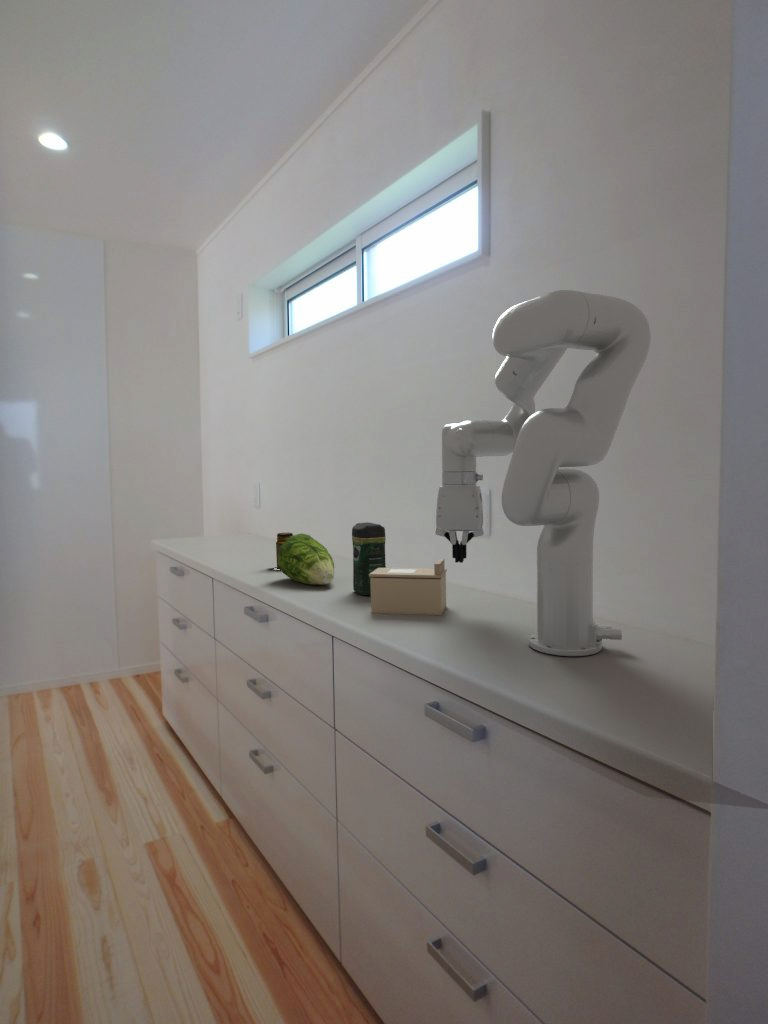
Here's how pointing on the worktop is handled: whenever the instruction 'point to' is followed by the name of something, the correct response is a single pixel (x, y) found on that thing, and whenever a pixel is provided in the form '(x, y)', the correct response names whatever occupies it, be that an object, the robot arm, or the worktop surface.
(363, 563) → the coffee jar
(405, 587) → the box
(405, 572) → the lid
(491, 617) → the worktop surface
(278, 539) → the condiment
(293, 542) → the lettuce
